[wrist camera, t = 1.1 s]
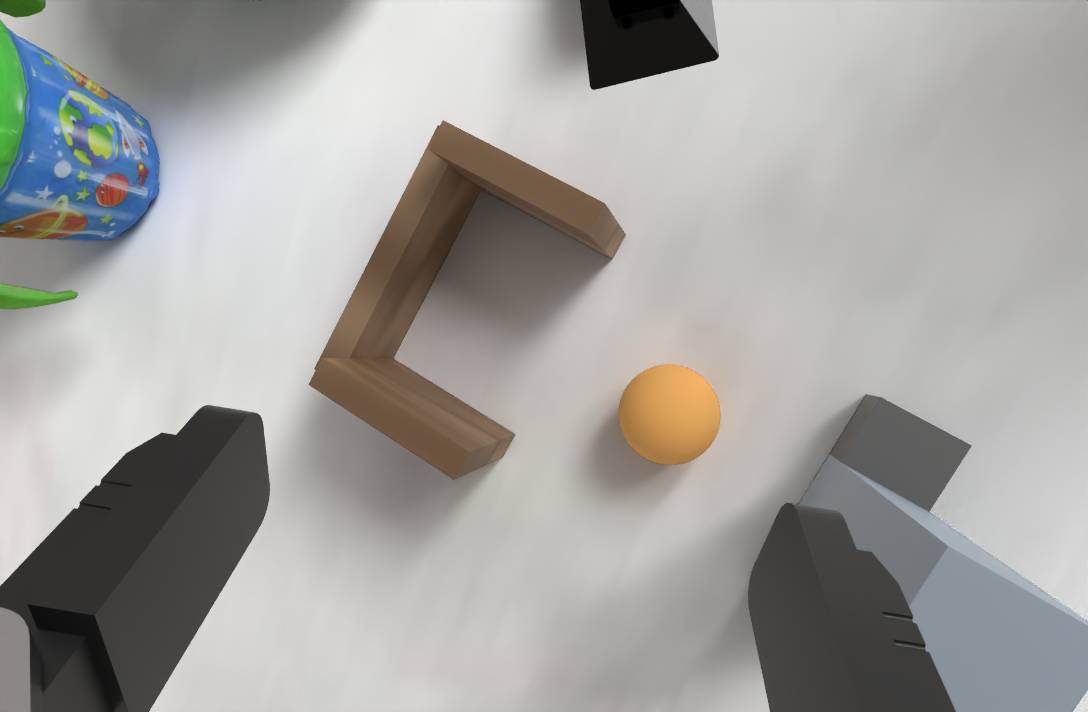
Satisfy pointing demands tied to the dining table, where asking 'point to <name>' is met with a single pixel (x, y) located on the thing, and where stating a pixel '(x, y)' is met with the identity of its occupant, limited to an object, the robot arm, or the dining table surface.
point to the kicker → (950, 569)
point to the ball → (669, 414)
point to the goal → (405, 278)
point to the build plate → (645, 38)
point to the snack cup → (65, 154)
